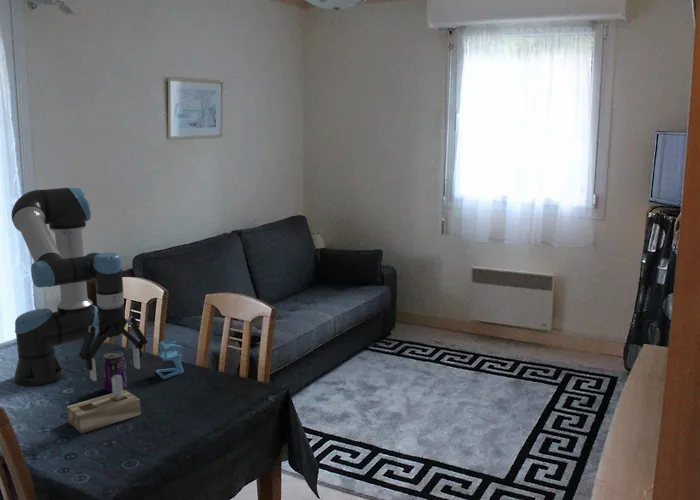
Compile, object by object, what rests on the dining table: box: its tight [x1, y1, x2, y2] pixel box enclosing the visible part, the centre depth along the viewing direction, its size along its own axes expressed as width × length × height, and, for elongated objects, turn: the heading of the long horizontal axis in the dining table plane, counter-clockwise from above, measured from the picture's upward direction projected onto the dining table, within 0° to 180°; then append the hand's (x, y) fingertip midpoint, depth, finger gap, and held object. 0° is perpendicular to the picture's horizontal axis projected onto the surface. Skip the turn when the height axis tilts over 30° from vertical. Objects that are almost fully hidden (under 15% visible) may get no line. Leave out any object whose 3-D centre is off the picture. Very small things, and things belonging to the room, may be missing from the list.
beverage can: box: [101, 351, 128, 393], centre depth 225 cm, size 7×7×12 cm
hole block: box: [66, 389, 142, 434], centre depth 204 cm, size 10×18×5 cm, turn 133°
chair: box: [155, 339, 184, 380], centre depth 238 cm, size 8×8×12 cm
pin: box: [111, 375, 124, 402], centre depth 206 cm, size 3×3×12 cm
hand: (115, 373), depth 205 cm, fingers open, 13 cm apart
